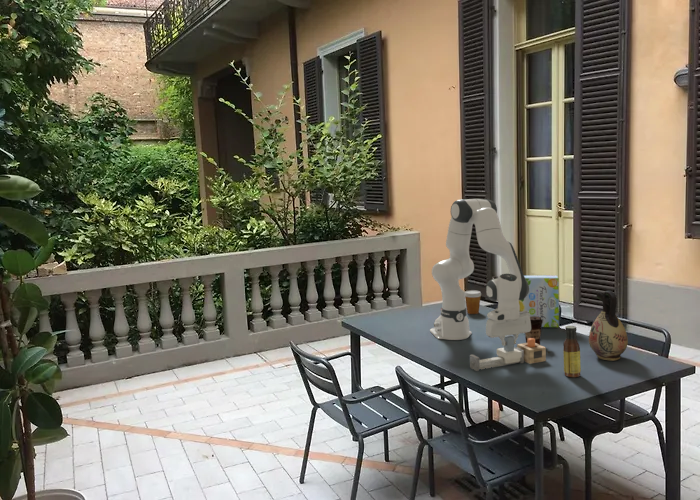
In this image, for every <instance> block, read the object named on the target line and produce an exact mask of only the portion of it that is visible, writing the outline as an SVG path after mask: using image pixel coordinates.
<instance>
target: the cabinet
mask: <svg viewBox="0 0 700 500" xmlns="http://www.w3.org/2000/svg"><path fill="white" fill-rule="evenodd" d="M516 344H517V345H516V347H518V348H520V349H522V350H524V363H527V364H530V365H531V364H536V363H541V362H546V361H547V359H546V354H547V353H546V352H547V351H546V349H547V348H546V347H545V346H544V345H541V344H540V345H539V344H537V343H535V347H532V348H530V347H527V343H526V342H523V343H516Z"/></svg>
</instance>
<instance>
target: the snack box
mask: <svg viewBox="0 0 700 500" xmlns="http://www.w3.org/2000/svg"><path fill="white" fill-rule="evenodd" d="M524 277H525V279H526V280H527V282H528V285H529V293H528V295H527V296H526V297H525V298H524V299H523V300H519V305H520V311H528V312H529V313H530V317H531V316H537V317H541V320H542V321H543V323H542V327H541V328H559V327H560V299H559V298H560V297H559V295H560V293H559V291H560V290H559V285H560V281H559V276H558V275H556V274H555V275H554V274H553V275H552V274H551V275H550V274H549V275H546V274H543V275H542V274H541V275H536V274H535V275H524ZM528 312H527V313H528Z"/></svg>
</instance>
